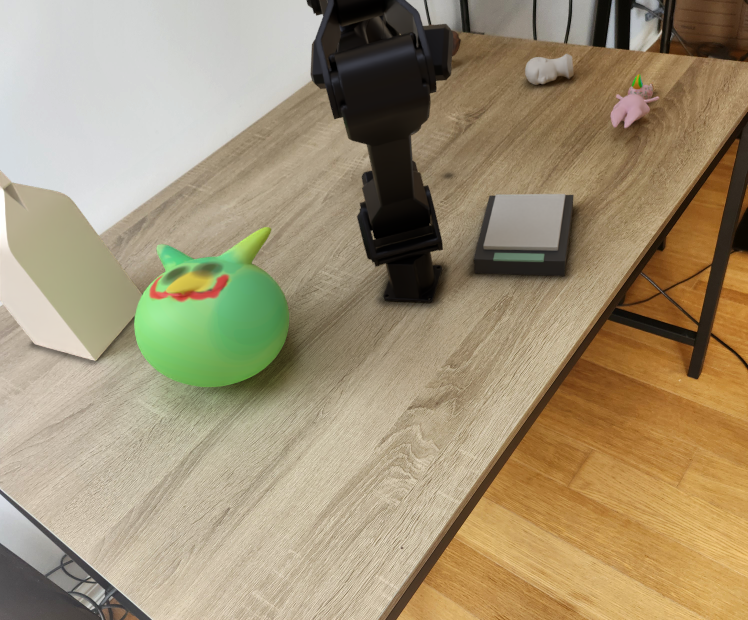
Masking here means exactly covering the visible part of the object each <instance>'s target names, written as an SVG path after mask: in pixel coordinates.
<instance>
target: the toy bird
mask: <svg viewBox="0 0 748 620" xmlns="http://www.w3.org/2000/svg"><path fill="white" fill-rule="evenodd" d="M271 233H272V227H269V226H263V227H261V228H260V229H257V230H255V231H254V232H252V233H251V234H249V235H248V236H246V237H245V238H244V239H242V240H241V241H239V242H238V243H236V244H235V245H233V246H231V247H230V248H229V249H227V250H226V251H224V252H223V253H222V254H220V255H218V256H203V257H197V258H193V257H191V256H189V254H186V253H184V252H183V251H181V250H179V249H177V248H175V247H173V246H171V245H168V244H166V243H160V244H157V245H156V248H155V249H156V254H157V256H158V258H159V260H160V263H161V265H162V266H163V268H164V272H162V273H161V274H160V275H158V276H157V277H156V278H155V279H153V280H152V281H151V283H150V284H149V285H148V286H146V288H145V290H144V291H143V293H142V296H141V298H140V301H139V303H138V306H137V309H136V313H135V316H134V321H133V323H134V325H133V327H134V328H133V329H134V335H135V340H136V344H137V346H138V349H139V351H140V353H141V355H142V356H143V358H144V359H145V360H146V362H147V363H148V364H149V365H150V366H151V367H152V368H153V369H154V370H155V371H157V372H158V373H160V374H161V375H163V376H164V377H166V378H168V379H170V380H172V381H173V382H177V383H179V384H183V385H188V386H192V387H198V388H219V387H220V388H221V387H225V386H230V385H231V386H232V385H235V384H237V383H240V382H243V381H245V380H246V381H247V379H250V378H252V377H254V376H256V375H257V374H259V373H260V372H262V371H263V370H265V369H266V368H267V367H268V366H270V364H271V363H272V362H274V360H275V359H276V358H277V356H278V355H279V354H280V352H281V350H282V349H283V347H284V345H285V343H286V340H287V336H288V333H289V327H290V311H289V310H290V309H289V304H288V301H287V299H286V296H285V293H284V291H283V290H282V288H281V286H280V285H279V283H278V282H277V281H276V279H274V277H273V276H271V275H270V273H268V272H267V271H266V270H264V269H263V268H262V267H259V266H258V265H256V264H254V263H253V262H254V259H255V258H256V256H257V255H258V253H259V252H260V250H261V249H262V247H263V246H264V245H265V243H266V242H267V240H268V238H269V237H270V235H271Z"/></svg>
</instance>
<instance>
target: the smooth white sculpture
mask: <svg viewBox="0 0 748 620" xmlns="http://www.w3.org/2000/svg"><path fill="white" fill-rule="evenodd" d="M573 61H574V60H573V55H571V54H569V53H565V54H564V55H562V56H561V57H557V58H547V57H543V56H535V57H532V58H531V59H529V60H528V61H527V62H526V65H525V68H524V74H525V77H526V80H527V81H528V82H529V83H530V84H532V85H534V86H538V85H540V84H541V85H545V84H547V83H550V82H554V81H555V80H557V78H558V77H564V78H566V79H568V80H570V79H571V78H572V77H574V73H575V72H574V63H573Z"/></svg>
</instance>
